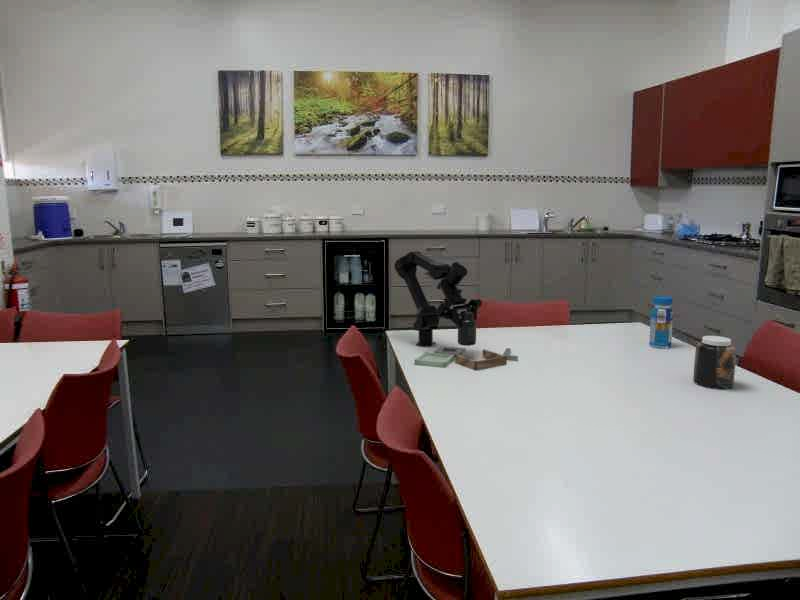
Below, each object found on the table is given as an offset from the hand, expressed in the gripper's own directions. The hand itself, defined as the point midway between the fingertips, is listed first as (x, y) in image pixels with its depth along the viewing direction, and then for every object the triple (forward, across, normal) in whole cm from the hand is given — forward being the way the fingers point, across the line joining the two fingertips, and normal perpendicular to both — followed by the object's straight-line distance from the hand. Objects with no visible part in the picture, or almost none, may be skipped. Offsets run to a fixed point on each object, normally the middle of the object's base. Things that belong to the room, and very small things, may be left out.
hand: (468, 326), depth 237 cm
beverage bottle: (+28, -76, +11) cm, 81 cm away
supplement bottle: (+4, 0, -6) cm, 7 cm away
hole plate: (+2, 0, -17) cm, 17 cm away
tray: (+6, +12, -11) cm, 18 cm away
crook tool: (+13, -16, -4) cm, 21 cm away
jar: (+55, -47, +41) cm, 83 cm away
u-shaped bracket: (+13, 0, -4) cm, 14 cm away
